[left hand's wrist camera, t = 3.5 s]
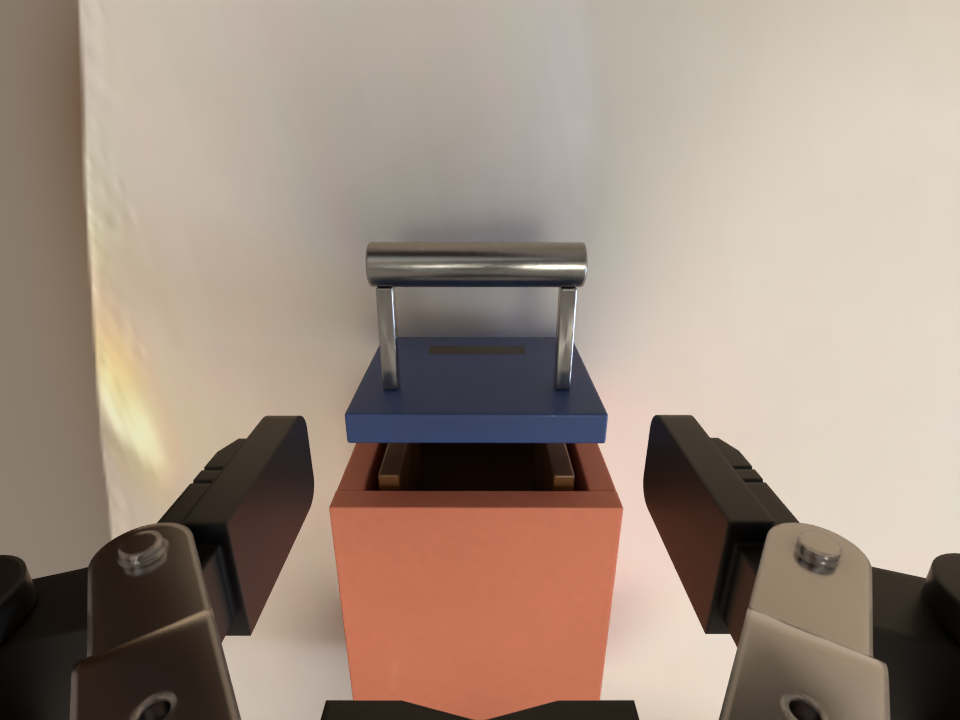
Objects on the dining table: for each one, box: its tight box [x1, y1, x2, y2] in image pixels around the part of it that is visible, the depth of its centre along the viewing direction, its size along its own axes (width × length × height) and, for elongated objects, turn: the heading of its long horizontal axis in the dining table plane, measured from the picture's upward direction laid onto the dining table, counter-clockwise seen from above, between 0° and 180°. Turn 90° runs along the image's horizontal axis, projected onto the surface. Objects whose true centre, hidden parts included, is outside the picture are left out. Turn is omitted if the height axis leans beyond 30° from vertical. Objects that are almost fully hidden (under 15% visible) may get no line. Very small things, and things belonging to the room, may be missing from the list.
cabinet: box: [329, 443, 623, 720], centre depth 27 cm, size 19×10×10 cm, turn 0°
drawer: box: [345, 242, 608, 491], centre depth 25 cm, size 23×9×8 cm, turn 0°
